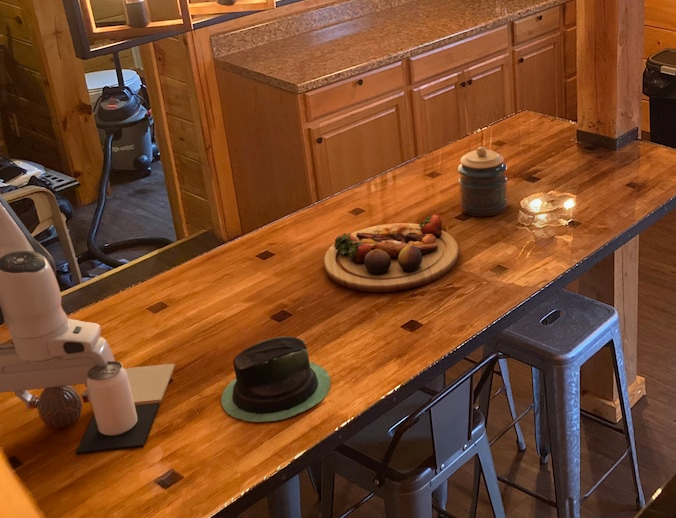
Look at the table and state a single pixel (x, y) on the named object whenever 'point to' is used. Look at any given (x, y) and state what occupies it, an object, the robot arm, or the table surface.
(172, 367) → the sorting mat
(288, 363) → the fedora hat
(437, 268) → the wooden plate
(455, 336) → the table surface
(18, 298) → the robot arm
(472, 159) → the canister
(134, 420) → the can
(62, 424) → the vase
